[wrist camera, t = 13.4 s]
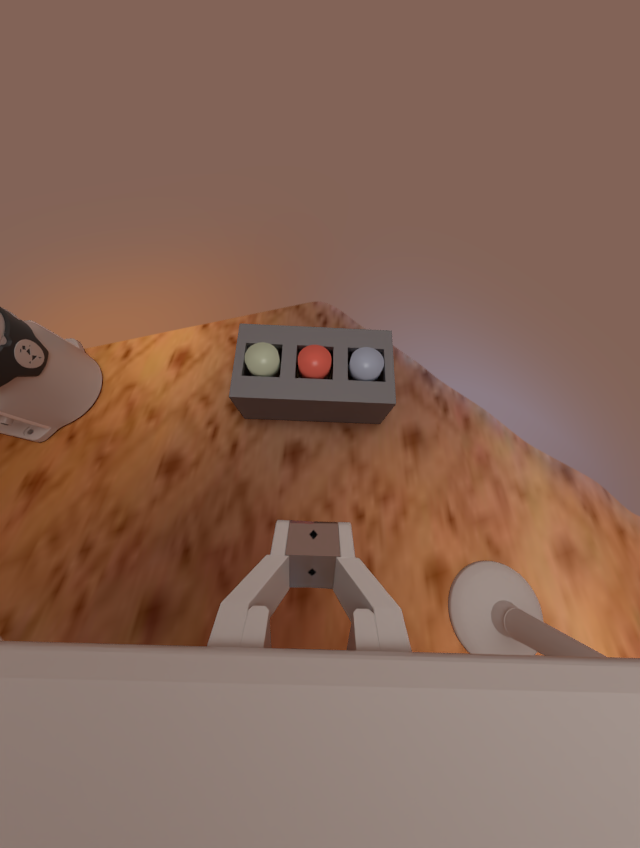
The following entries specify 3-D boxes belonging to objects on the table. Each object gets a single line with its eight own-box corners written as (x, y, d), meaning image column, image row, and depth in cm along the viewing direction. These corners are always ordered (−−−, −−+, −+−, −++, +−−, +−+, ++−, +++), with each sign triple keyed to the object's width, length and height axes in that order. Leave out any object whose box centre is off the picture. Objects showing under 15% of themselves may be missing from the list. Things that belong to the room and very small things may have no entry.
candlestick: (554, 656, 36) (1434, 1177, 8) (465, 676, 35) (1101, 1358, 7) (518, 553, 40) (1020, 653, 12) (436, 569, 39) (769, 722, 11)
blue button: (347, 386, 41) (350, 375, 38) (347, 359, 42) (350, 346, 39) (378, 388, 41) (384, 377, 38) (377, 360, 43) (383, 347, 39)
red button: (297, 384, 41) (296, 373, 38) (299, 357, 42) (298, 344, 39) (329, 386, 41) (331, 375, 38) (330, 358, 42) (331, 345, 39)
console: (244, 418, 45) (228, 396, 37) (252, 356, 49) (239, 323, 41) (380, 423, 46) (395, 403, 37) (377, 361, 50) (391, 330, 41)
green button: (248, 382, 41) (242, 371, 37) (251, 355, 42) (246, 341, 39) (280, 384, 41) (277, 372, 37) (282, 356, 42) (280, 343, 39)
